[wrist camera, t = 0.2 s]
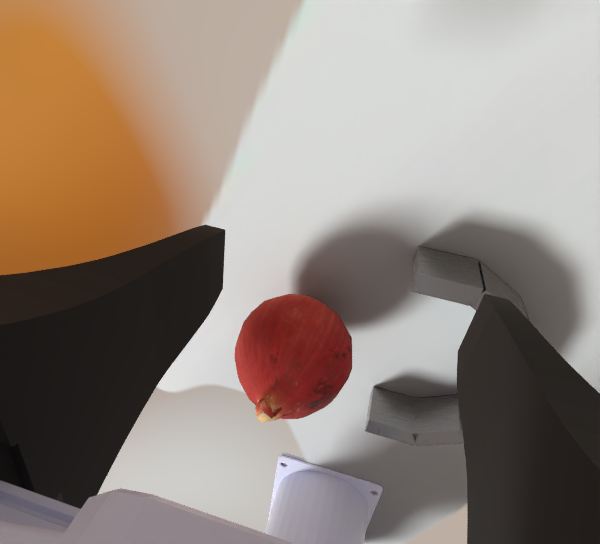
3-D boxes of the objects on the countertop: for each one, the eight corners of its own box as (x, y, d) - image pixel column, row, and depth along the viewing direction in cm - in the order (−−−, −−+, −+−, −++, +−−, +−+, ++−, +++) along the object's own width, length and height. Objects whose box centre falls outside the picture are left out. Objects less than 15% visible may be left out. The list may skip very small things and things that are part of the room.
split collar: (482, 429, 26) (487, 467, 24) (370, 397, 27) (365, 431, 25) (567, 279, 20) (584, 312, 18) (418, 246, 21) (417, 273, 19)
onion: (378, 294, 23) (359, 410, 16) (337, 363, 26) (307, 483, 19) (279, 250, 23) (219, 347, 16) (251, 324, 26) (191, 430, 19)
